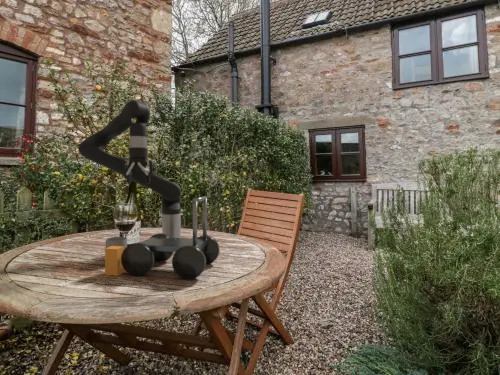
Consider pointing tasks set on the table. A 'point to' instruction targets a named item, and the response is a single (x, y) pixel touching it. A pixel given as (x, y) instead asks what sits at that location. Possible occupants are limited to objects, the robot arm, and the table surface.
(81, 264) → the table surface
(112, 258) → the orange rectangular block
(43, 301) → the table surface
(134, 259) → the trolley
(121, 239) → the cup
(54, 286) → the table surface
